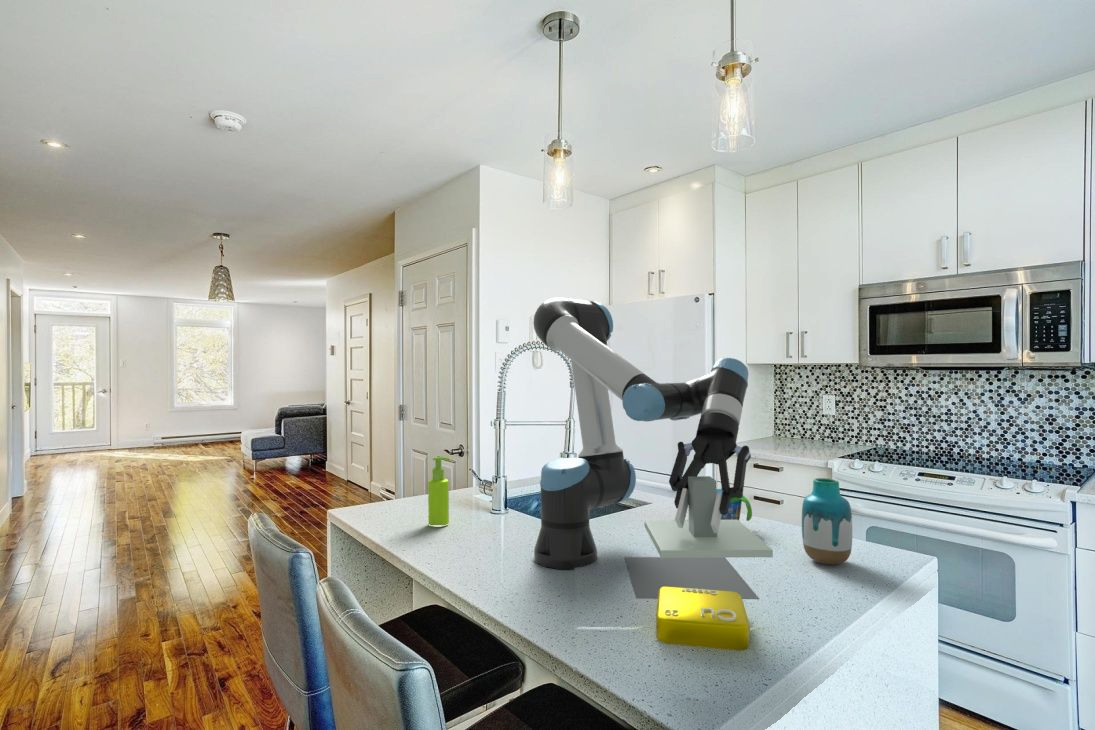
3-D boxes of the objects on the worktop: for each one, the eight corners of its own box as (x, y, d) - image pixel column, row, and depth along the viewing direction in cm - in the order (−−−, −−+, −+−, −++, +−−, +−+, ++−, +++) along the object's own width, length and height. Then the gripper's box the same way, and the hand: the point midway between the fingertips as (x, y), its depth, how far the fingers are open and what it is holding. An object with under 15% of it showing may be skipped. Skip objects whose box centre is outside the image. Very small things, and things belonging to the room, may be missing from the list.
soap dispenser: (450, 527, 162) (449, 458, 162) (426, 527, 162) (426, 458, 162) (454, 522, 168) (453, 455, 168) (431, 522, 168) (430, 455, 168)
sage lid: (661, 557, 91) (660, 490, 91) (644, 526, 109) (643, 469, 109) (772, 557, 91) (771, 489, 91) (737, 525, 109) (736, 469, 109)
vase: (851, 558, 133) (850, 477, 133) (854, 573, 123) (853, 486, 124) (802, 552, 138) (801, 474, 138) (801, 566, 128) (800, 482, 128)
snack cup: (690, 525, 162) (689, 490, 162) (711, 519, 168) (711, 485, 169) (738, 538, 150) (738, 500, 150) (759, 530, 156) (759, 494, 156)
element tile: (740, 614, 104) (740, 588, 104) (750, 654, 90) (750, 624, 90) (659, 607, 108) (658, 582, 108) (655, 645, 93) (655, 616, 93)
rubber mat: (636, 600, 110) (636, 598, 110) (623, 558, 134) (623, 557, 134) (759, 600, 109) (759, 598, 109) (725, 559, 133) (725, 557, 133)
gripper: (771, 437, 108) (755, 545, 94) (678, 432, 118) (651, 530, 104) (766, 411, 104) (748, 521, 89) (669, 408, 113) (639, 508, 99)
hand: (696, 526), depth 97 cm, fingers closed on sage lid, 5 cm apart
